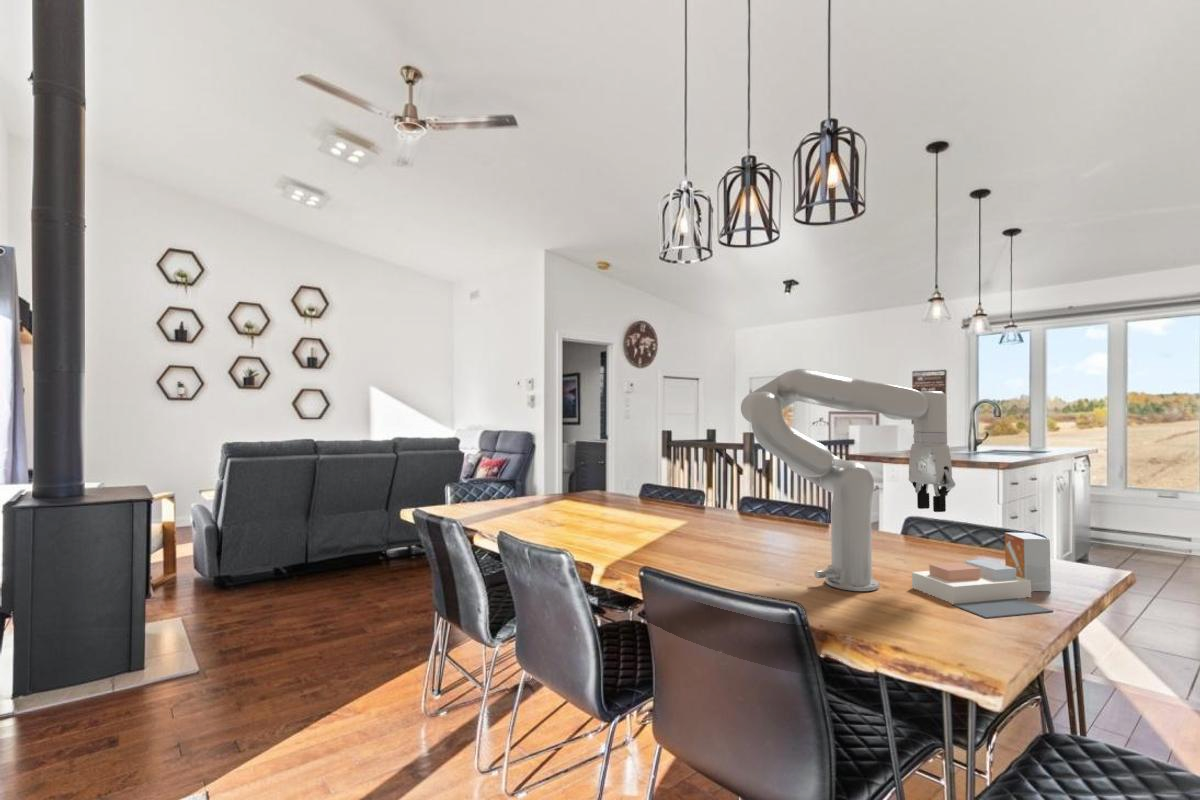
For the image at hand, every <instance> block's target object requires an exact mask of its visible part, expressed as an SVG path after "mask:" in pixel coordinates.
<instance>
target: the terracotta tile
mask: <svg viewBox="0 0 1200 800" xmlns="http://www.w3.org/2000/svg"><path fill="white" fill-rule="evenodd" d="M928 565H929V567H928V568H929V570H928V571H929V572H930V575H932V576H935V577H938V578H941V579H944V580H947V581H959V580H971V579H980V568H977V567H974V566H970V565H967V564H965V562H963V563H962V562H948V563H931V564H928Z"/></svg>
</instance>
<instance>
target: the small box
mask: <svg viewBox="0 0 1200 800" xmlns="http://www.w3.org/2000/svg"><path fill="white" fill-rule="evenodd" d="M1050 541H1051V540H1050V539H1049V538H1047V537H1046V538H1045V537H1044V536H1040V535H1037V534H1034V533H1030V532H1004V548H1005V549H1004V550H1005V552H1004V553H1005V554H1004V557H1005V563H1004V565H1006V566H1010V567H1013V568H1016V576H1017V577H1021V578H1024V579H1028V580H1031V592H1034V591H1049V592H1050V591H1051V592H1052V584H1051V583H1052V582H1051V547H1050V545H1051V544H1050V543H1051V542H1050ZM1049 592H1048V593H1049Z"/></svg>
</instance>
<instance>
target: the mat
mask: <svg viewBox="0 0 1200 800" xmlns="http://www.w3.org/2000/svg"><path fill="white" fill-rule="evenodd" d="M951 605H952V606H953V605H954V606H953V607H955V606H956V607H955V608H958V607H959V608H958V609H960V608H961V610H964V611H966V612H968V613H971V614H974V615H976V616H979V617H981V618H983V619H992V618H993V619H995V618H1004V617H1016V616H1023V615H1024V616H1025V615H1035V614H1045V613H1046V612H1047V613H1054V610H1053V609H1050V608H1047V607H1044V606H1040V605H1038V604H1034V603H1031V602H1028V601H1026V600H1023V599H1021V598H1018V599H1017V598H1013V599H1002V600H990V601H979V602H968V603H957V604H952V603H951ZM1047 613H1046V614H1047Z"/></svg>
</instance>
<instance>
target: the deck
mask: <svg viewBox="0 0 1200 800" xmlns="http://www.w3.org/2000/svg"><path fill="white" fill-rule="evenodd" d="M911 587H912V589H913V588H914V590H916V589H917V590H916V591H918V590H919V592H921V591H922V592H921V593H923V594H926V593H927V594H926V595H929V594H930V595H929V596H931V595H932V597H934V596H935V598H937V599H939V598H940V600H942V601H944V600H945V602H947V601H948V602H947V603H950V602H951V603H950V604H952V603H953V604H957V603H968V602H979V601H990V600H1002V599H1013V598H1018V599H1027V598H1026V597H1029V598H1032V591H1031V580H1028V579H1024V578H1021V577H1017V576H1016V579H1007V580H993V579H990V578H987V577H984V576H980V579H971V580H959V581H947V580H944V579H941V578H938V577H935V576H932V575H930V572H929V570H924V571H912V572H911Z"/></svg>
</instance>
